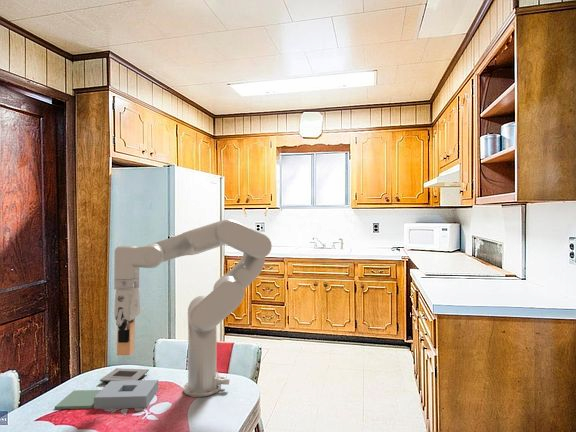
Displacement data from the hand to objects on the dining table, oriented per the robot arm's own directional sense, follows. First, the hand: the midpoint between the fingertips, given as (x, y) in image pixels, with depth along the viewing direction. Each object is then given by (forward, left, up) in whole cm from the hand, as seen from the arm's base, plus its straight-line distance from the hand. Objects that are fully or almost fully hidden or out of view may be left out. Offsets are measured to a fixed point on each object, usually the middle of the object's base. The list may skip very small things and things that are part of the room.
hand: (126, 339), depth 121 cm
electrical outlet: (+7, -16, -20) cm, 26 cm away
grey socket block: (0, 0, -19) cm, 19 cm away
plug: (0, 0, -4) cm, 4 cm away
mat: (+14, 0, -19) cm, 24 cm away
